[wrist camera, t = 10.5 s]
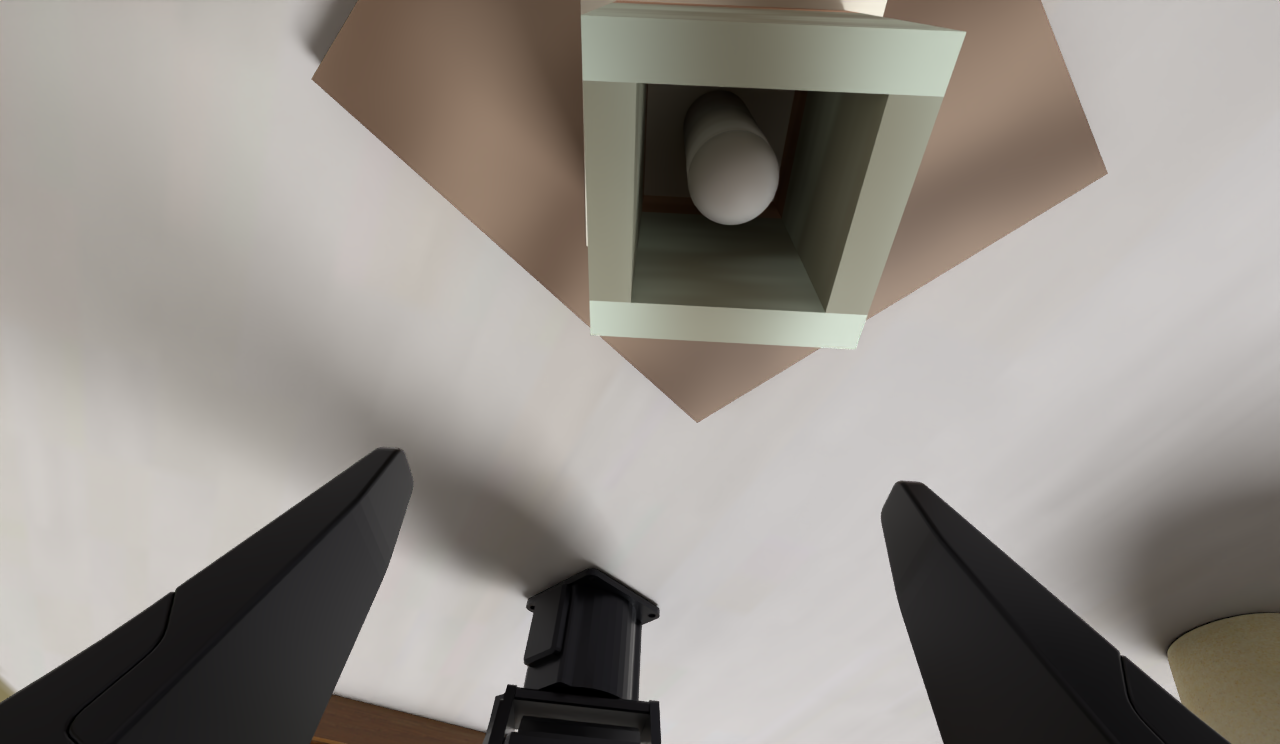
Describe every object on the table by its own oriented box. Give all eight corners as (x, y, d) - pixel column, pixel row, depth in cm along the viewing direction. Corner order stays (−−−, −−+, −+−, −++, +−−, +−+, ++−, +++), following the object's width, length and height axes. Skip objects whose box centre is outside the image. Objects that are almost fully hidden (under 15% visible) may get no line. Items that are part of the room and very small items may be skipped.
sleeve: (845, 10, 14) (966, 32, 8) (795, 229, 17) (855, 349, 12) (617, 0, 14) (580, 15, 8) (616, 220, 17) (590, 335, 12)
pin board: (1086, 164, 17) (1297, 257, 11) (696, 407, 24) (704, 540, 18) (762, -638, 9) (911, -1645, 3) (329, 74, 16) (147, 124, 10)
